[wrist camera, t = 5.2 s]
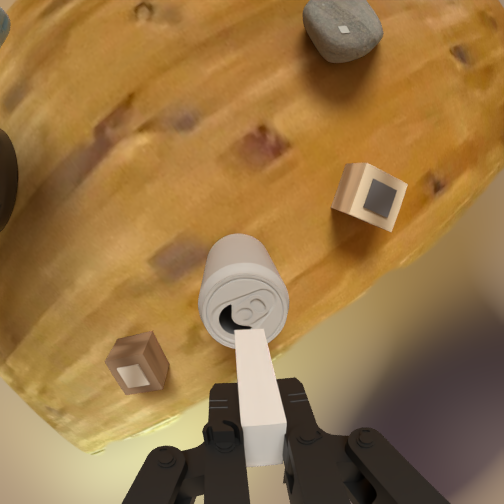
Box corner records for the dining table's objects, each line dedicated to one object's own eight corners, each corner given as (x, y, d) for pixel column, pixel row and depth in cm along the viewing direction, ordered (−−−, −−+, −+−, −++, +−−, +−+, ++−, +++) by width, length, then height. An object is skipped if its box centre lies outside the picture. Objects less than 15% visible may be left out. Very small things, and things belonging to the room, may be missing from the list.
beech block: (330, 207, 30) (349, 214, 25) (345, 163, 29) (367, 162, 24) (368, 223, 31) (392, 232, 26) (383, 181, 30) (408, 184, 25)
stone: (395, 49, 25) (410, 31, 17) (336, 78, 30) (330, 68, 22) (353, -6, 23) (352, -38, 15) (296, 23, 28) (276, -2, 19)
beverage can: (194, 257, 30) (175, 308, 18) (243, 219, 29) (254, 248, 18) (233, 301, 32) (237, 369, 20) (280, 266, 31) (311, 319, 19)
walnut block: (135, 370, 33) (125, 396, 28) (117, 338, 32) (103, 362, 27) (169, 363, 33) (162, 390, 28) (152, 330, 32) (142, 354, 27)
